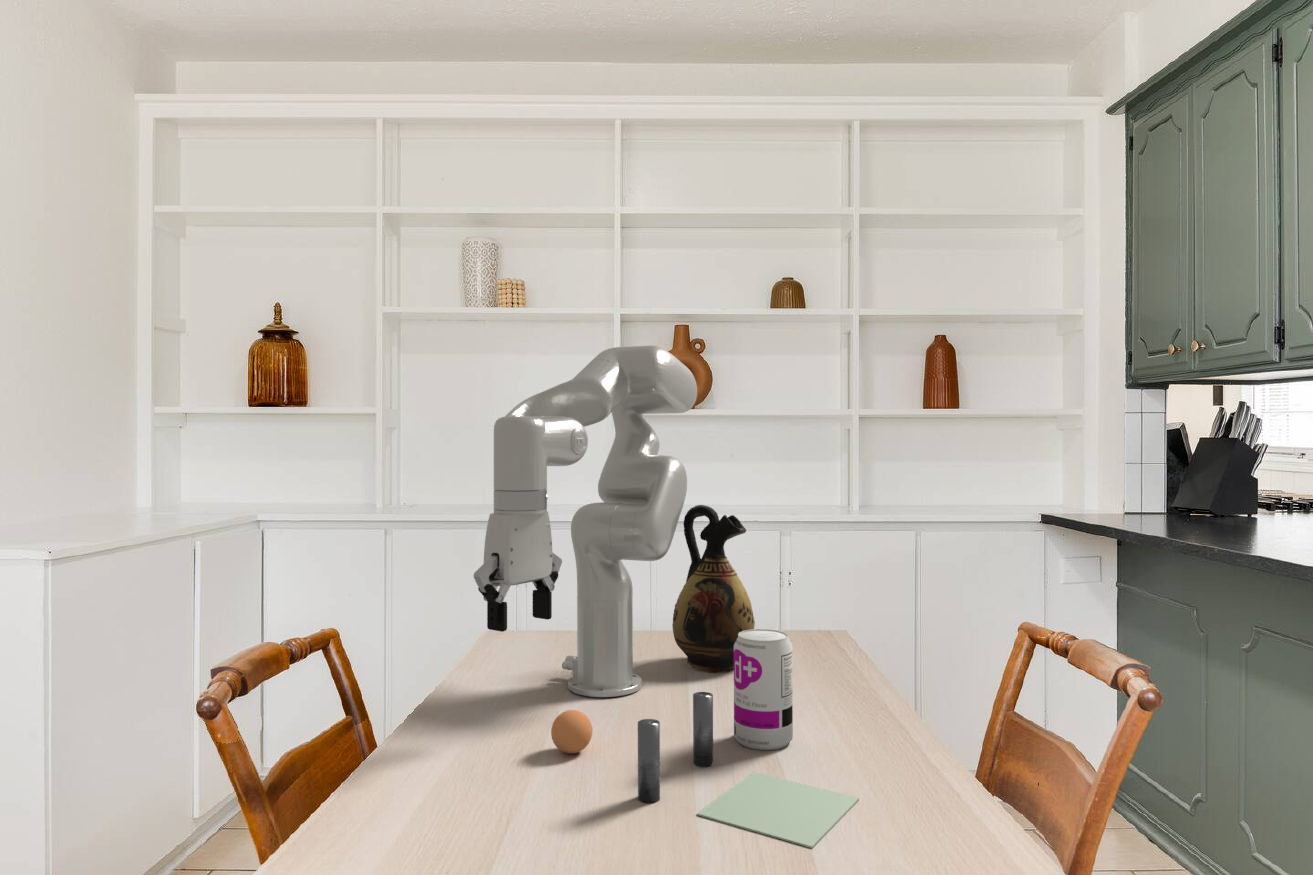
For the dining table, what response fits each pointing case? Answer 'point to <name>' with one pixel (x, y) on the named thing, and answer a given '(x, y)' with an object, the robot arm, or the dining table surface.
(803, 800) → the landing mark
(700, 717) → the post
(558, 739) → the ball
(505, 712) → the dining table surface
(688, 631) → the ceramic jug
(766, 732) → the supplement can
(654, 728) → the post
